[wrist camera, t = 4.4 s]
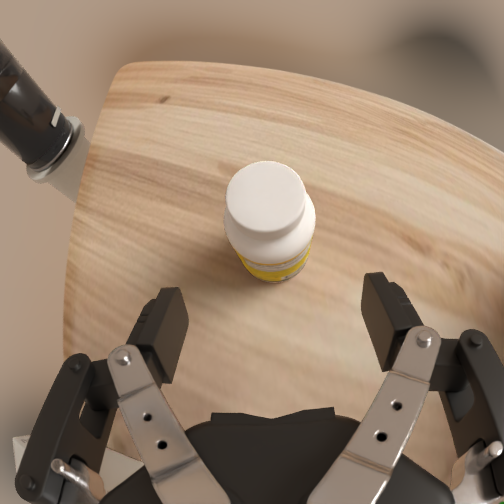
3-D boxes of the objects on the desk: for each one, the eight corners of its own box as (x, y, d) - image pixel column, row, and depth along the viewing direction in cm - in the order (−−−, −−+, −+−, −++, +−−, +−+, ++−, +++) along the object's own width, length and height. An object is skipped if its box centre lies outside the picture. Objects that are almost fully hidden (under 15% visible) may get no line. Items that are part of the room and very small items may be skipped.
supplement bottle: (246, 215, 24) (224, 145, 15) (311, 223, 24) (325, 154, 14) (234, 279, 23) (200, 238, 14) (303, 288, 22) (317, 253, 13)
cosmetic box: (174, 525, 11) (7, 433, 13) (169, 572, 9) (13, 486, 11) (203, 478, 19) (64, 422, 21) (195, 523, 17) (64, 467, 19)
